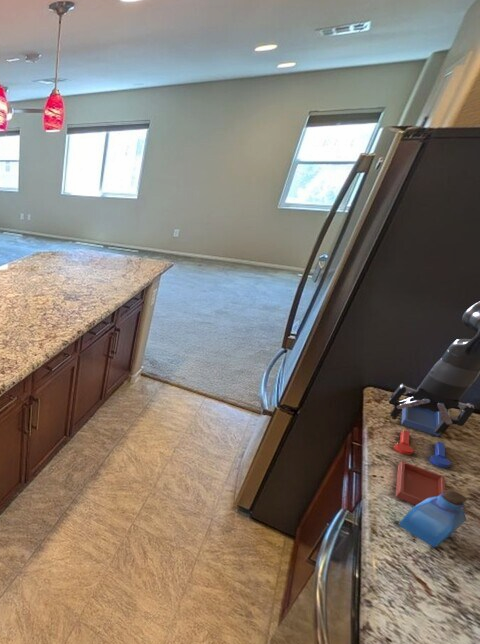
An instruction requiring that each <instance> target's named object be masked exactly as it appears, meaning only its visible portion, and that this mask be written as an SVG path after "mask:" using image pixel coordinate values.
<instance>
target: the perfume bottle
mask: <svg viewBox="0 0 480 644" xmlns="http://www.w3.org/2000/svg"><path fill="white" fill-rule="evenodd" d="M467 501H468V500H467V498H466V496H464V495H463V494H461V493H459V492H458V491H455V490H451V489H445V491H444V493H441V494H440V495H439V496H436V497H430V498H427V499H425V500H424V501H422V502H421V503H419V504H418V505H414V506H413V507H412V508H411V509H410V510H409V511H408V512H407V514H406V515H404V517H403V518H402V519H401V521H400V522H399V523H398V524H397V526H400V527H401V528H403V529H404V530H405V531H407V532H409V533H410V534H411V535H413V536H415V537H416V538H418V539H420V540H421V541H422V542H424V543H426V544H428V545H429V546H431V547H432V548H436V547H438V546H439V545H440V544H442V543H443V542H445V541H446V540H447V539H448V538H450V537H451V536H452V535H453V534H454V533H455V532H456V531H457V530H458V529H459V528H460V527H461V526H462V525H463V523H464V522H466V521H467V518H466V514H465V510H464V509H463V507H464V506H465V503H466V502H467Z"/></svg>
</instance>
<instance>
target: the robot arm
mask: <svg viewBox="0 0 480 644" xmlns="http://www.w3.org/2000/svg"><path fill="white" fill-rule="evenodd" d="M461 321H462V324H464V326H465V327H467V328H468V329H470V330H472V331H473V332H475V333H476V334H475V335H474V337H472V338H459V339H456V340H454V341H453V342H452V343H451V344H450V345H449V346H448V347H447V349H446V351H445V352H444V353H443V355H442V356H441V357H440V359H438V360H437V362H436V363H435V364H434V365H433V366H432V368H431V369H430V370H429V371H428V373H427V374H426V376H425V377H424V379H423V380H422V382H421V383H420V384H419V386H417V387H416V388H412V387H409V386H407V385H406V384H405V383H401V384H399V385H398V387H397V388H396V389H395V390H394V392H393V393H392V394H391V396H390V397H389V398H388V399H389V400H388V404H389V405H392V406H394V407H393V409H392V410H391V411H390V415H389V416H390V417H391V419H392V420H397V418H398V417H399V416H400V414H402V409H403V408H406V407H413V406H417V405H418V406H419V407H420V408H424V409H429V410H431V411H433V412H440V413H441V418H442V419H441V420H442V421H441V422H440V423H439V424H438V426H437V427H436V428H435V430H434V431H435V433H437V434H439V433H441V434H443V433H445V432H446V431H447V430H448V429H449V428H450V426H452V425H454V426H455V425H457V426H458V427H463V426H464V425H465V424H466V423H467V421H468V420H469V419H470V417H471V416H472V414H473V413H474V411H475V405H474V403H472V402H468V403H463V402H459V401H460V400H461V399H462V397H463V396H464V395H465V394H466V392H467V391H468V390H469V388H470V387H471V386H472V385H473V384H474V383H475V382H476V381H477V379H478V377H479V376H480V301H478V302H476V303H474V304H473V305H471V306H470V307H469V308H467V309H466V310H465V311H464V313H463V315H462V318H461ZM407 394H411V395H412V396H411V397H407V398H406V399H403V400H400V398H401V397H402V396H403V395H407ZM455 408H459V411H460V412H459V414H458V416H457V417H452V415H451V413H450V410H451V409H455Z"/></svg>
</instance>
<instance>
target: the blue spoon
mask: <svg viewBox="0 0 480 644" xmlns="http://www.w3.org/2000/svg"><path fill="white" fill-rule="evenodd" d="M445 445H446V444H445V443H444V442H442V441H436V443H435V444H434V454H432V455H431V456H430V458H429V462H430V463H431V464H432V465H434V466H436V467H439V468H441V469H448V468H449V467H450V466H451V465H452V462H451V461H450V460H449V459H448V458H446V446H445Z"/></svg>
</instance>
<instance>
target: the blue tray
mask: <svg viewBox="0 0 480 644" xmlns="http://www.w3.org/2000/svg"><path fill="white" fill-rule="evenodd" d="M442 420H443V419H442V415H441V413H440V412H433V411H431V410H429V409H424V408H420V407H419V406H418V405H417V406H413V407H406V408H403V409H402V411H401V420H400V421H401V424H400V425H402V426H405V427H408V428H411V429H414V430H417V431H420V432H422V433H425V434H429V435H432V436H435V437H439V436H440V435H441V434H442V433H439V434H437V433H435V431H434V430H435V428H436V427H437V426H438V424H439V423H440V422H441V421H442Z"/></svg>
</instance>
